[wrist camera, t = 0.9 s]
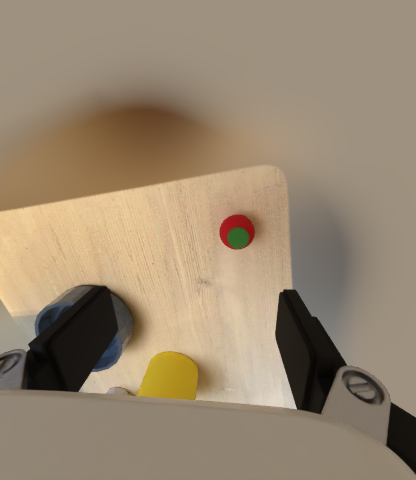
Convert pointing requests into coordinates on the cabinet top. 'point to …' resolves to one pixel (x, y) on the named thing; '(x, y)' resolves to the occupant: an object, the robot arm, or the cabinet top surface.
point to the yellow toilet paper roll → (170, 377)
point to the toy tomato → (237, 232)
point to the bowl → (122, 316)
